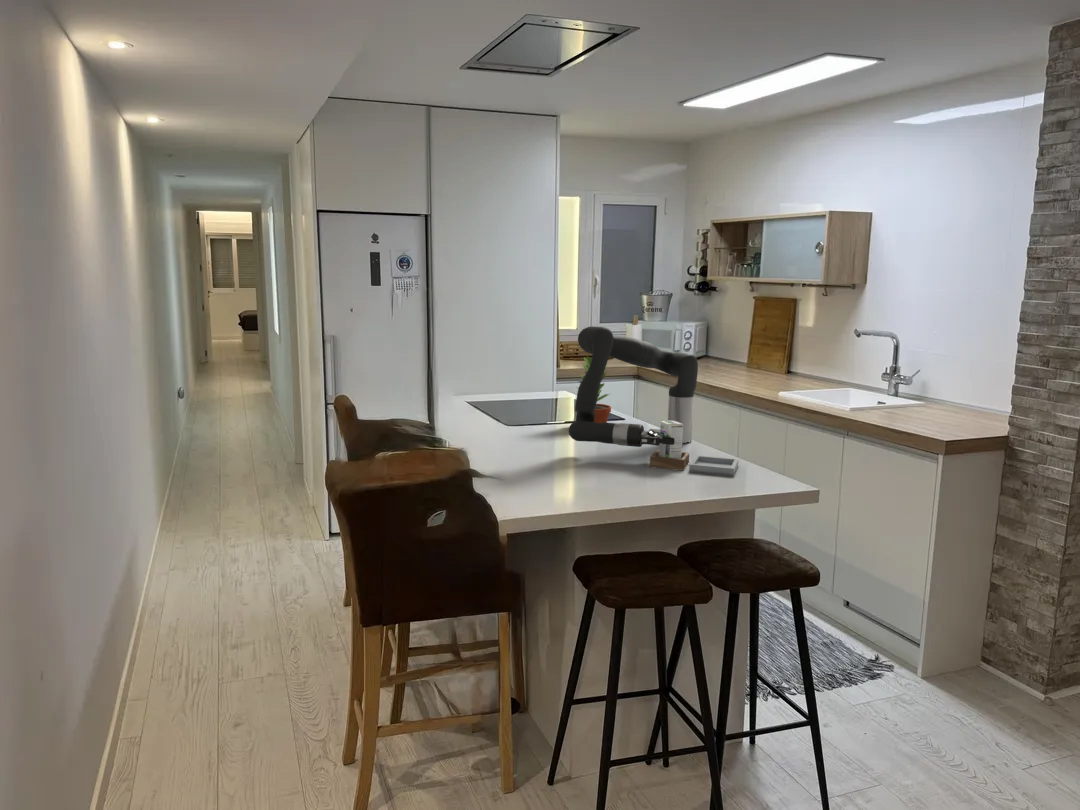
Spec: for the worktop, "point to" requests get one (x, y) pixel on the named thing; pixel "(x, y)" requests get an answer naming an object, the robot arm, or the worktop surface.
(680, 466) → the walnut holder
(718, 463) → the slate tray
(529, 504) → the worktop surface
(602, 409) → the potted plant
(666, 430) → the syrup box
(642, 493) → the worktop surface
